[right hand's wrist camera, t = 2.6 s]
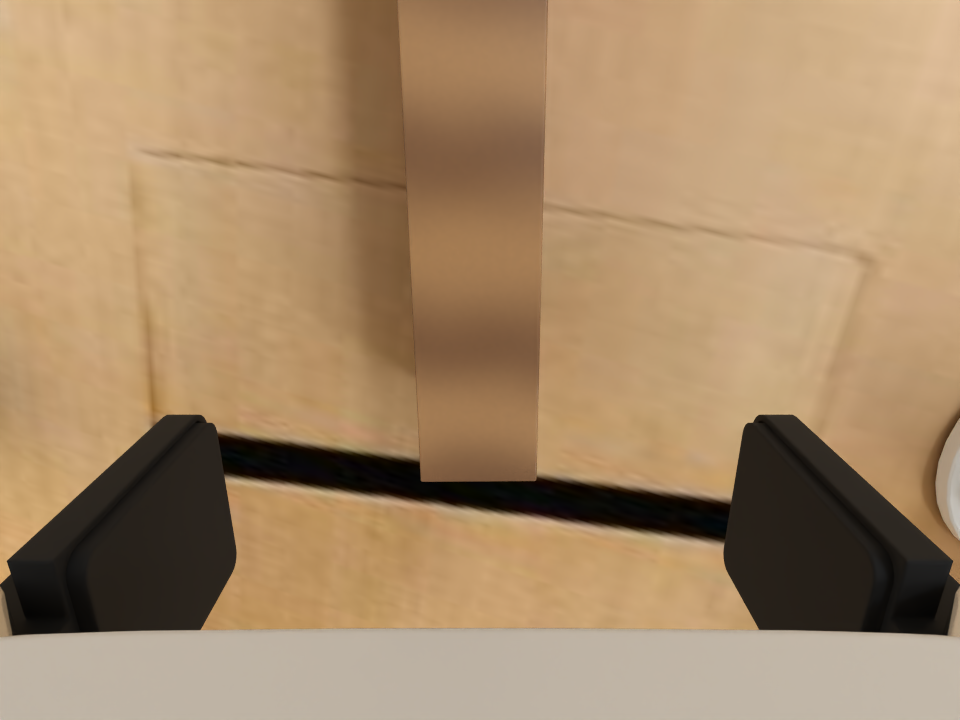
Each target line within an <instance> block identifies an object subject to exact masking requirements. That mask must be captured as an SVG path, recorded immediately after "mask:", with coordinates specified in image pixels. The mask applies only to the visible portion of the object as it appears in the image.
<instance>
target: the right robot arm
mask: <svg viewBox="0 0 960 720" xmlns="http://www.w3.org/2000/svg"><path fill="white" fill-rule="evenodd" d="M935 485H936V497H937V504H938V507H939V510H940V513H941V516H942V518H943V521H944V522H945V524H946V525H947V527H948V528H949V530H950V531H951V533H952V534H953V535H954V536H955V537H956V538H957V539H958V540H959V541H960V418H959V420H958V421H957V423H956V425H955V427H954V428H953V430H952V432H951V433H950V435H949V437H948V438H947V440H946V443H945V445H944V448H943V451H942V454H941V456H940V459H939V462H938V468H937V475H936V482H935ZM7 563H8V566H9V569H10V572H11V575H10V576H9V577H7V578H6V579H5V580H4V581H3V582H2V583H1V584H0V720H960V584H959V583H958V582H957V581H956V580H955V579H954V578H953V577H951V576H950V575H949V572H950V569H951V566H952V563H953V560H951V559H950V558H949V557H948V556H947V555H946V554H945V553H944V552H943V551H942V550H941V549H940V548H938V547H937V546H936V545H935V544H934V543H933V542H932V541H931V540H930V539H929V538H928V537H926V536H925V535H924V534H923V533H922V532H921V531H920V530H919V529H918V528H917V527H916V526H914V525H913V524H912V523H911V522H910V521H909V520H908V519H907V518H906V517H905V516H904V515H903V514H901V513H900V512H899V511H898V510H897V509H896V508H895V507H894V506H893V505H892V504H891V503H889V502H888V501H887V500H886V499H885V498H884V497H883V496H882V495H881V494H880V493H879V492H877V491H876V490H875V489H874V488H873V487H872V486H871V485H870V484H869V483H868V482H867V481H865V480H864V479H863V478H862V477H861V476H860V475H859V474H858V473H857V472H856V471H855V470H854V469H852V468H851V467H850V466H849V465H848V464H847V463H846V462H845V461H844V460H843V459H842V458H840V457H839V456H838V455H837V454H836V453H835V452H834V451H833V450H832V449H831V448H830V447H828V446H827V445H826V444H825V443H824V442H823V441H822V440H821V439H820V438H819V437H818V436H817V435H815V434H814V433H813V432H812V431H811V430H810V429H809V428H808V427H807V426H806V425H805V424H803V423H802V422H801V421H800V420H799V419H798V418H797V417H796V416H794V415H758V416H757V417H756V418H755V420H754V422H753V423H747V424H746V425H745V427H744V430H743V435H742V441H741V447H740V453H739V459H738V465H737V472H736V478H735V484H734V490H733V496H732V502H731V508H730V514H729V520H728V526H727V533H726V539H725V545H724V563H725V567H726V570H727V572H728V574H729V576H730V578H731V579H732V581H733V583H734V585H735V587H736V588H737V590H738V592H739V594H740V596H741V597H742V599H743V601H744V603H745V605H746V606H747V608H748V610H749V612H750V614H751V615H752V617H753V619H754V621H755V623H756V624H757V626H758V628H759V630H696V629H585V628H350V629H261V630H201V628H202V626H203V624H204V623H205V621H206V619H207V617H208V615H209V614H210V612H211V610H212V608H213V606H214V605H215V603H216V601H217V599H218V597H219V596H220V594H221V592H222V590H223V588H224V587H225V585H226V583H227V581H228V579H229V578H230V576H231V574H232V572H233V570H234V567H235V563H236V545H235V539H234V533H233V526H232V520H231V514H230V508H229V502H228V496H227V490H226V484H225V478H224V472H223V465H222V459H221V453H220V447H219V441H218V435H217V430H216V427H215V425H214V424H213V423H207V422H206V420H205V418H204V417H203V416H202V415H166V416H164V417H163V418H162V419H161V420H160V421H159V422H158V423H157V424H155V425H154V426H153V427H152V428H151V429H150V430H149V431H148V432H147V433H146V434H145V435H143V436H142V437H141V438H140V439H139V440H138V441H137V442H136V443H135V444H134V445H133V446H131V447H130V448H129V449H128V450H127V451H126V452H125V453H124V454H123V455H122V456H121V457H120V458H118V459H117V460H116V461H115V462H114V463H113V464H112V465H111V466H110V467H109V468H108V469H106V470H105V471H104V472H103V473H102V474H101V475H100V476H99V477H98V478H97V479H96V480H94V481H93V482H92V483H91V484H90V485H89V486H88V487H87V488H86V489H85V490H84V491H83V492H81V493H80V494H79V495H78V496H77V497H76V498H75V499H74V500H73V501H72V502H71V503H69V504H68V505H67V506H66V507H65V508H64V509H63V510H62V511H61V512H60V513H59V514H57V515H56V516H55V517H54V518H53V519H52V520H51V521H50V522H49V523H48V524H47V525H46V526H44V527H43V528H42V529H41V530H40V531H39V532H38V533H37V534H36V535H35V536H34V537H32V538H31V539H30V540H29V541H28V542H27V543H26V544H25V545H24V546H23V547H22V548H20V549H19V550H18V551H17V552H16V553H15V554H14V555H13V556H12V557H11V558H10V559H9V560H7Z"/></svg>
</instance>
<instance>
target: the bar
mask: <svg viewBox="0 0 960 720" xmlns="http://www.w3.org/2000/svg"><path fill="white" fill-rule="evenodd" d="M397 7H398V27H399V47H400V68H401V88H402V108H403V128H404V148H405V168H406V189H407V209H408V229H409V249H410V269H411V289H412V309H413V330H414V350H415V370H416V390H417V410H418V430H419V451H420V471H421V481H422V482H442V481H536V473H537V432H538V390H539V349H540V308H541V266H542V225H543V184H544V142H545V101H546V60H547V18H548V0H397Z"/></svg>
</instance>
